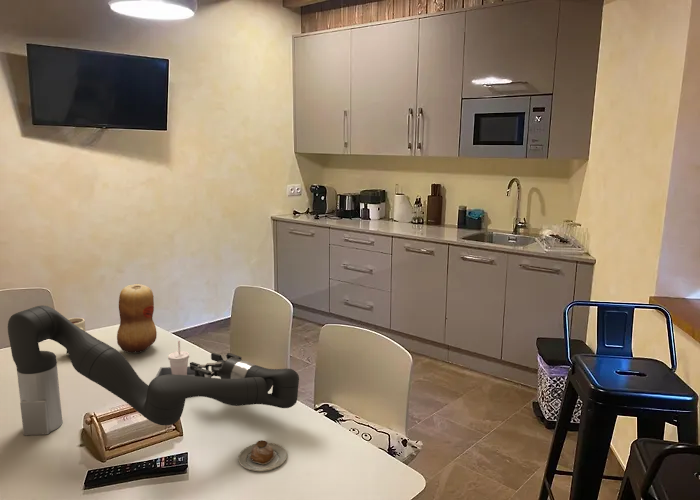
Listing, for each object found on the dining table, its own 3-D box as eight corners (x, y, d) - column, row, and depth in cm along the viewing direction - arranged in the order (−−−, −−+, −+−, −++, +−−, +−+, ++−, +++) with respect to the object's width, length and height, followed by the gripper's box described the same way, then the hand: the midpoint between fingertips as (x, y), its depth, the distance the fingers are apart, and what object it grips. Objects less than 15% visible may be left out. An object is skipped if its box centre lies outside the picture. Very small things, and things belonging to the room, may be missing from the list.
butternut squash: (140, 360, 189) (136, 292, 184) (110, 355, 193) (105, 288, 188) (165, 347, 202) (162, 283, 197) (136, 342, 206) (132, 279, 201)
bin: (196, 394, 166) (195, 383, 165) (151, 396, 164) (151, 385, 163) (202, 375, 178) (201, 366, 178) (161, 377, 177) (160, 367, 176)
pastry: (264, 441, 141) (263, 425, 141) (297, 458, 134) (297, 441, 133) (228, 461, 132) (227, 444, 131) (261, 481, 125) (261, 463, 124)
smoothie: (193, 379, 173) (192, 338, 170) (185, 388, 167) (183, 346, 164) (174, 378, 174) (172, 337, 171) (165, 387, 168) (163, 344, 165)
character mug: (58, 354, 193) (55, 320, 191) (77, 348, 199) (74, 315, 196) (75, 362, 187) (72, 326, 185) (94, 355, 193) (91, 321, 191)
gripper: (223, 394, 150) (183, 380, 158) (257, 376, 162) (219, 364, 170) (222, 369, 148) (182, 356, 157) (257, 353, 160) (218, 341, 169)
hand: (201, 360), depth 164 cm, fingers open, 8 cm apart
